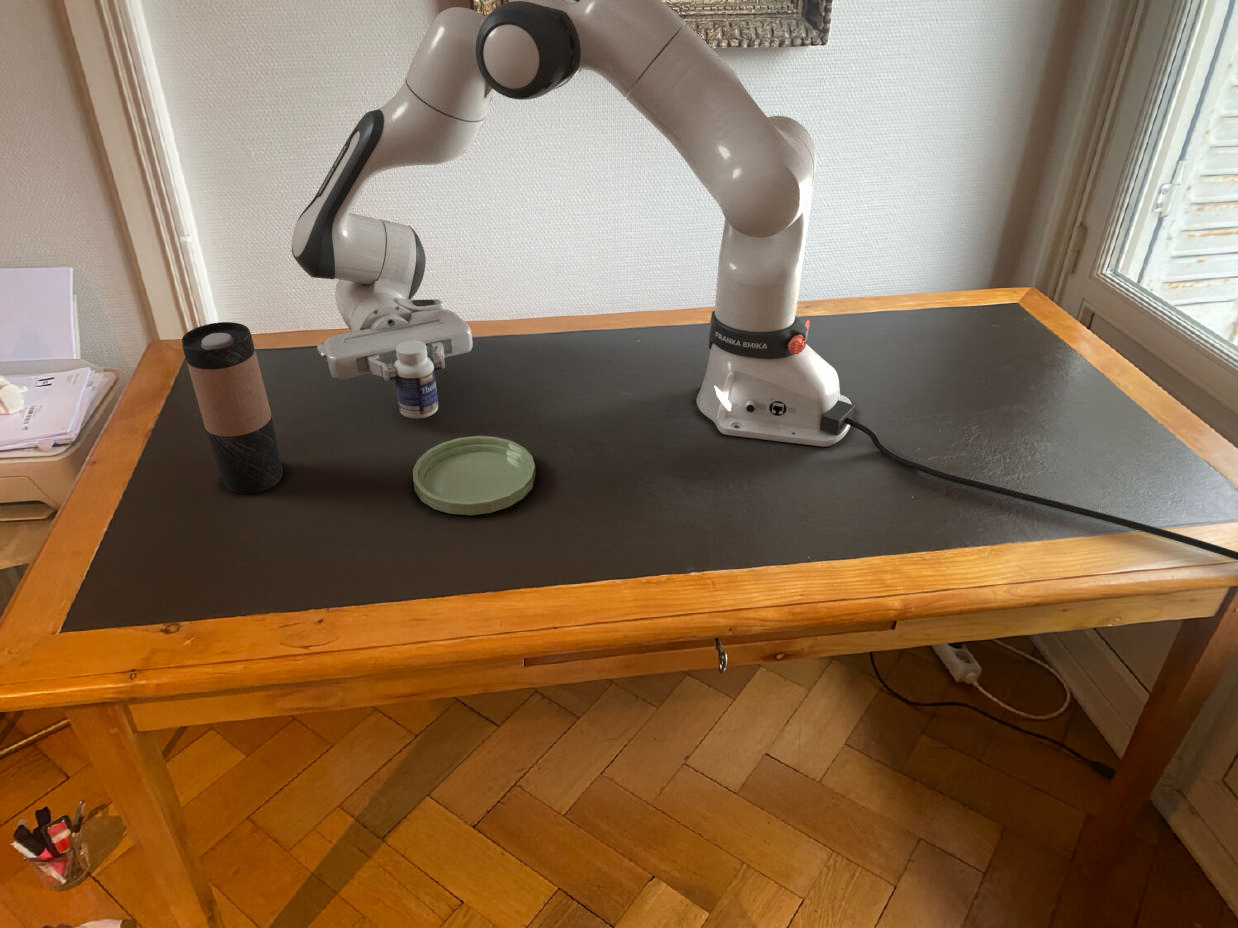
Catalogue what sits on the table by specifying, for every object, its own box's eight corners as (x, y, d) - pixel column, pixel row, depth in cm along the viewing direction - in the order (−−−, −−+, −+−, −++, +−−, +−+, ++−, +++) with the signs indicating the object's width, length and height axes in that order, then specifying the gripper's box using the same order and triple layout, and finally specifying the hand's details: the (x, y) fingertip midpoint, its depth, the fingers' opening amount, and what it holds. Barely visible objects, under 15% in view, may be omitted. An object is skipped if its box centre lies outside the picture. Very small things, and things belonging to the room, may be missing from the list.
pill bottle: (430, 422, 121) (422, 358, 115) (393, 417, 121) (383, 353, 116) (444, 402, 125) (437, 340, 119) (408, 398, 126) (400, 336, 120)
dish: (555, 464, 116) (554, 451, 115) (497, 529, 105) (496, 516, 104) (455, 438, 121) (454, 426, 120) (390, 498, 110) (388, 485, 108)
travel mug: (297, 468, 115) (265, 327, 104) (259, 500, 109) (220, 355, 98) (248, 456, 117) (211, 317, 106) (208, 488, 111) (164, 344, 100)
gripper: (309, 323, 123) (334, 365, 113) (450, 297, 131) (484, 333, 121) (317, 364, 126) (342, 408, 116) (454, 335, 135) (487, 374, 125)
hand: (416, 370), depth 119 cm, fingers closed on pill bottle, 5 cm apart
